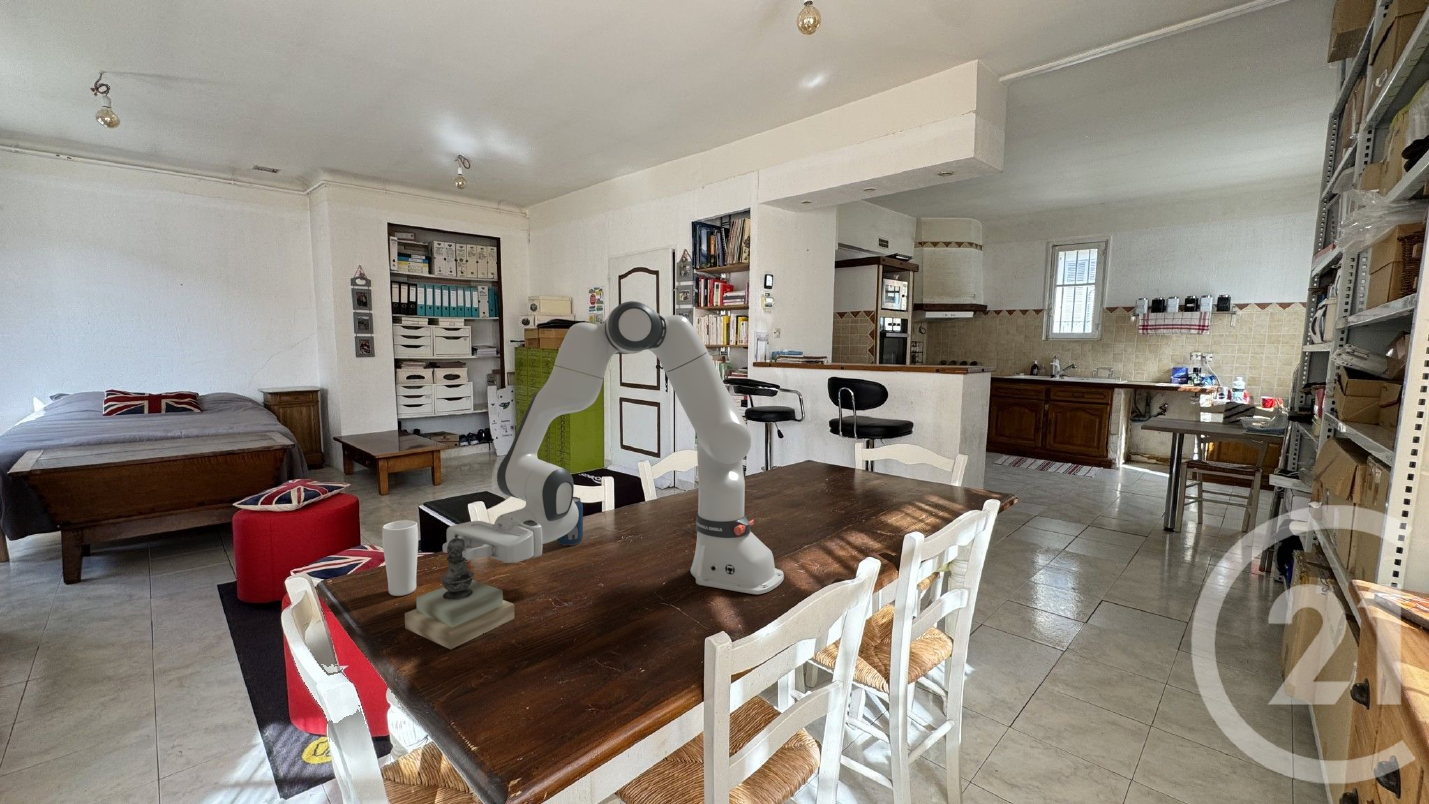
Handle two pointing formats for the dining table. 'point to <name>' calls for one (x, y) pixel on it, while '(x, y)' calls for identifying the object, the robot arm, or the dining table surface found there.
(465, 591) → the dark grey ornamental finial
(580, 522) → the soda can
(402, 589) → the drinking glass
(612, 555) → the dining table surface
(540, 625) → the dining table surface
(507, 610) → the brick tower base
